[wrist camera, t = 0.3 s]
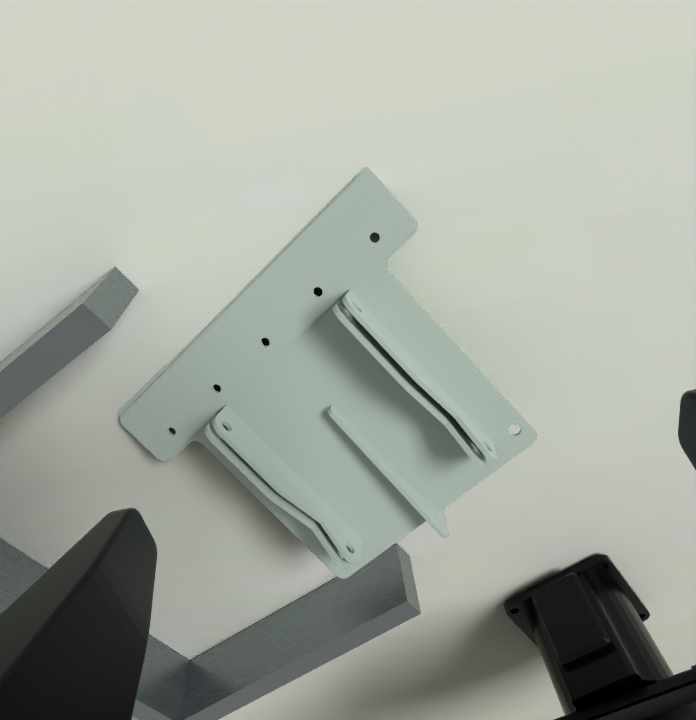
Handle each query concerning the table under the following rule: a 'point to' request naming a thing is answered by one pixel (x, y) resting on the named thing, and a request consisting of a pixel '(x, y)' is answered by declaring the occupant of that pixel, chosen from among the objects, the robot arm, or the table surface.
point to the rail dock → (256, 643)
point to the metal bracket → (335, 391)
